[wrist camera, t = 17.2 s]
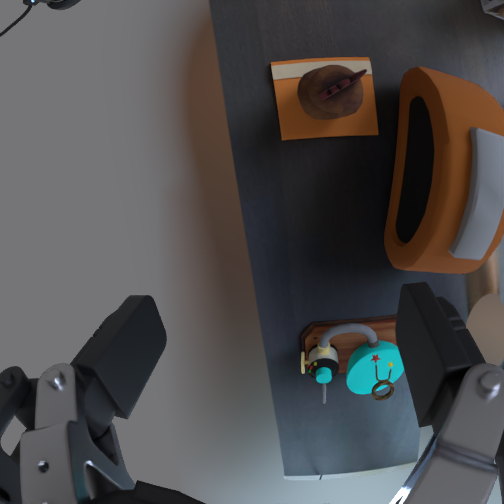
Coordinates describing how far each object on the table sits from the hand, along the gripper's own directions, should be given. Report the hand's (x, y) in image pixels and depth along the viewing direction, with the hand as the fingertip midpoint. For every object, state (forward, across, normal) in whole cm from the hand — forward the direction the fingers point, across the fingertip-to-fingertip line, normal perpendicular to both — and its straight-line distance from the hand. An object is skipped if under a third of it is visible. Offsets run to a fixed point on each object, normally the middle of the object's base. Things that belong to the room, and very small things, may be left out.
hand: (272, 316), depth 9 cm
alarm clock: (+30, -17, +1) cm, 35 cm away
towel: (+30, -5, -8) cm, 32 cm away
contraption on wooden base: (+30, -8, +29) cm, 43 cm away
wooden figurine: (+30, -5, -8) cm, 31 cm away
